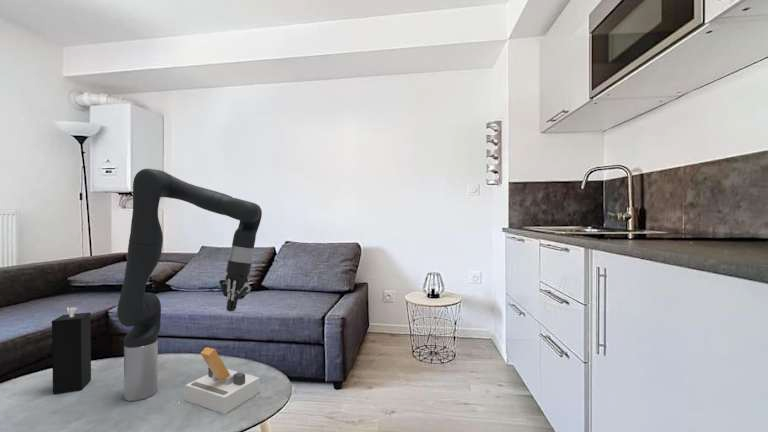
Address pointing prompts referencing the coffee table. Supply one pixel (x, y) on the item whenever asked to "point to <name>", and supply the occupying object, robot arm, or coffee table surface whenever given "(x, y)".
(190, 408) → the coffee table surface
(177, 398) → the coffee table surface
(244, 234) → the robot arm
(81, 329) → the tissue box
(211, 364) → the breaker handle
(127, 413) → the coffee table surface
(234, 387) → the white slotted plate
